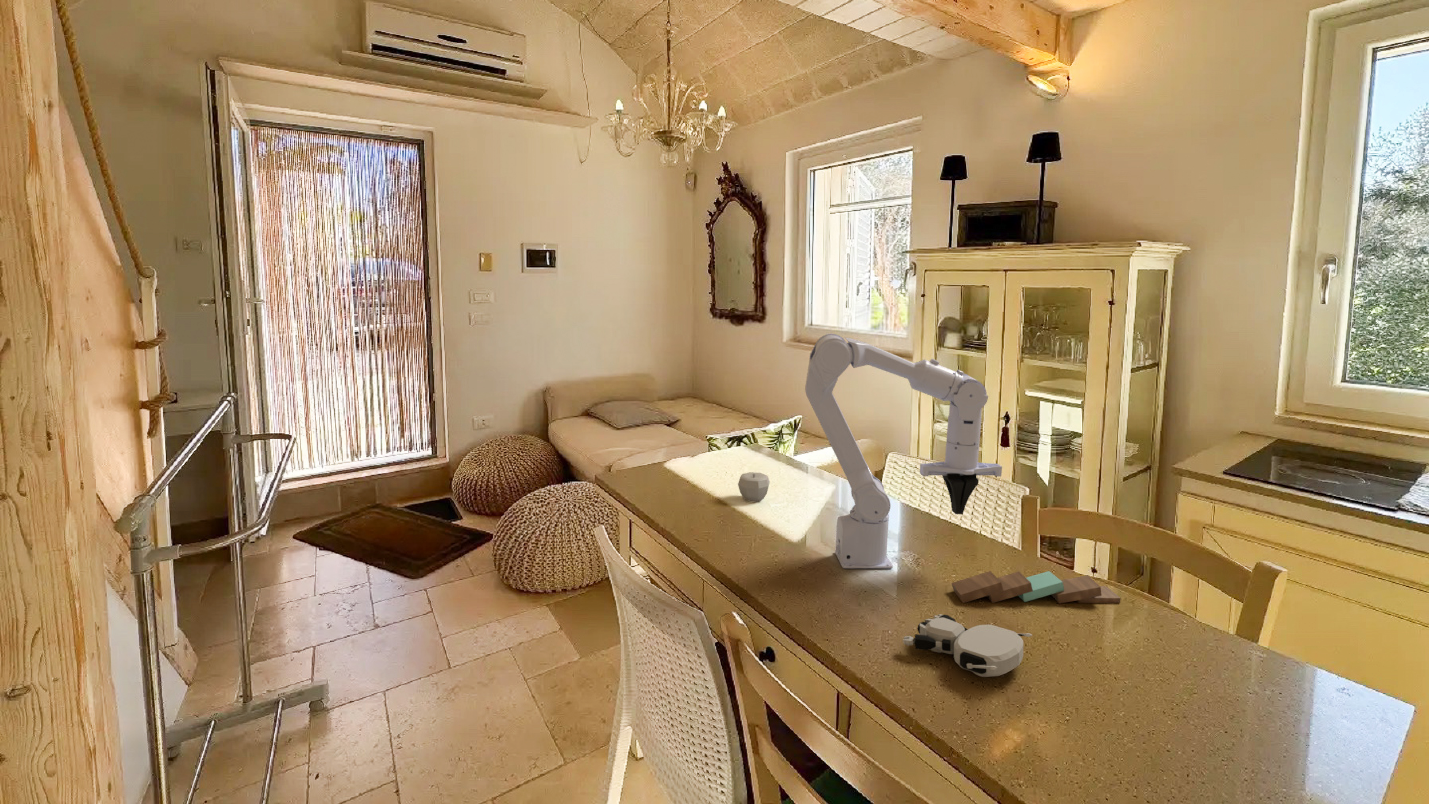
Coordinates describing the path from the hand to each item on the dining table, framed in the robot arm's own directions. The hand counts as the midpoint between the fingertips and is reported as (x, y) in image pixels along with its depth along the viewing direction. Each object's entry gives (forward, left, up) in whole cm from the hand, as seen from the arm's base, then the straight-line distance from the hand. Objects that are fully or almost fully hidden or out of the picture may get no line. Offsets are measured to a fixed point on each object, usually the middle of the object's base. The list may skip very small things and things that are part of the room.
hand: (957, 512), depth 130 cm
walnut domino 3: (+12, -14, -10) cm, 21 cm away
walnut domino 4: (+16, -13, -10) cm, 23 cm away
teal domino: (+6, -13, -10) cm, 17 cm away
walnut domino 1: (-4, -13, -10) cm, 17 cm away
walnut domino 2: (+1, -13, -10) cm, 16 cm away
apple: (-35, +38, -11) cm, 53 cm away
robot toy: (-10, -32, -11) cm, 35 cm away
